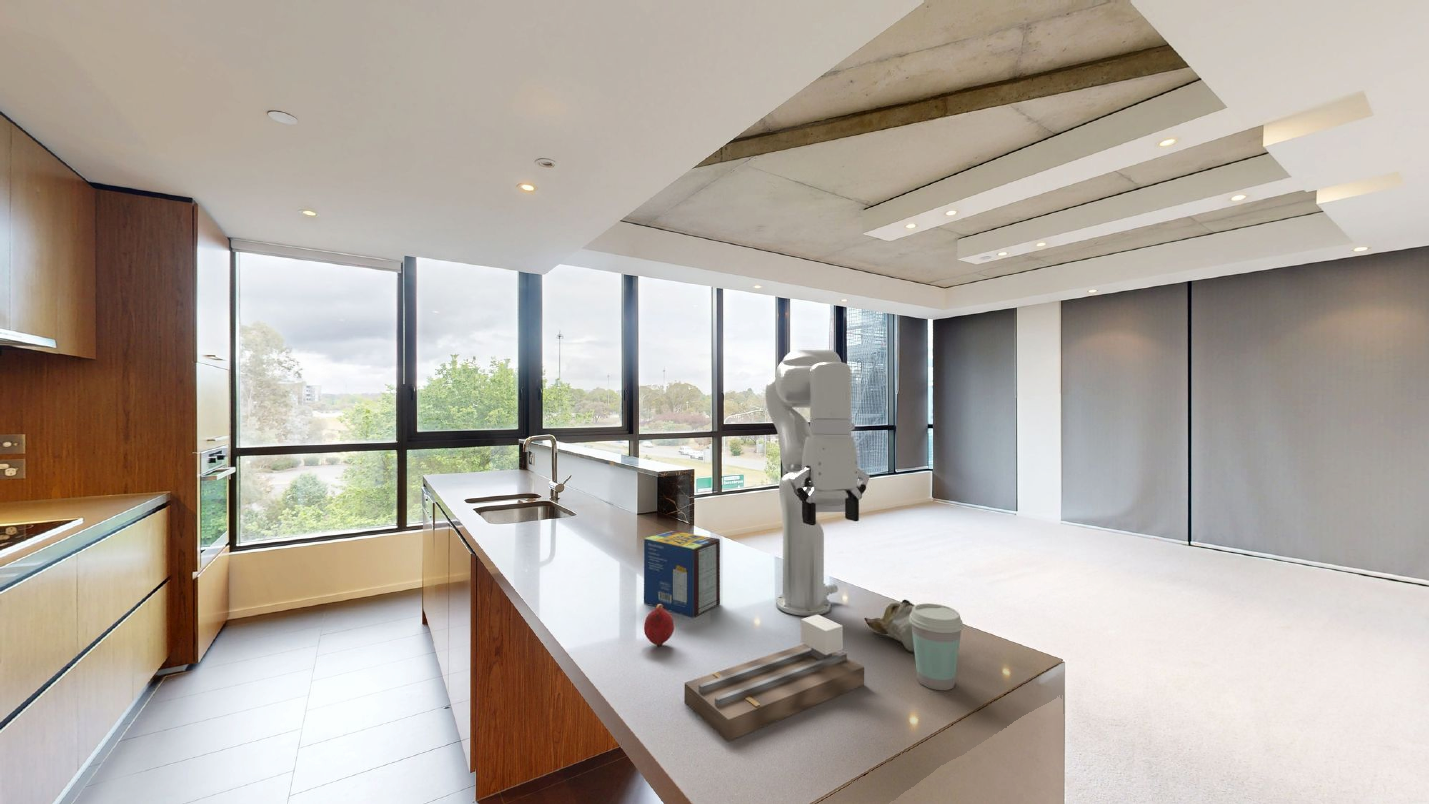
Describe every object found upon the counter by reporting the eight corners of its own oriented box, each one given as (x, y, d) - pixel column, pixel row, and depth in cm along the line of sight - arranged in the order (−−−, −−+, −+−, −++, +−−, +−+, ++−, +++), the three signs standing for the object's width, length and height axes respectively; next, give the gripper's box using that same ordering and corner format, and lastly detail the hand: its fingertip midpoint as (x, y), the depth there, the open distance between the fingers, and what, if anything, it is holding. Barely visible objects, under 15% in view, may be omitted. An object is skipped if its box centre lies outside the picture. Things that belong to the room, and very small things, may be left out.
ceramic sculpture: (901, 612, 100) (861, 590, 114) (903, 661, 99) (861, 632, 114) (951, 608, 102) (905, 587, 117) (952, 655, 102) (906, 628, 116)
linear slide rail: (813, 656, 101) (813, 635, 101) (864, 684, 91) (864, 660, 91) (684, 701, 85) (684, 676, 85) (728, 741, 75) (728, 712, 75)
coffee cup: (960, 674, 94) (960, 605, 95) (965, 699, 86) (966, 624, 86) (908, 666, 97) (908, 599, 97) (909, 689, 89) (909, 617, 89)
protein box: (670, 591, 136) (671, 529, 136) (720, 604, 127) (721, 538, 127) (642, 603, 128) (642, 537, 128) (693, 618, 119) (693, 548, 119)
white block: (817, 647, 97) (817, 614, 97) (842, 660, 92) (842, 625, 92) (800, 653, 95) (801, 619, 95) (825, 667, 90) (825, 631, 90)
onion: (668, 653, 102) (669, 611, 102) (639, 650, 103) (640, 608, 103) (677, 640, 107) (677, 600, 107) (649, 638, 109) (649, 598, 109)
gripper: (854, 428, 107) (854, 515, 106) (780, 429, 100) (780, 522, 99) (880, 429, 100) (881, 522, 100) (803, 429, 93) (803, 529, 92)
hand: (831, 522), depth 99 cm, fingers open, 9 cm apart
